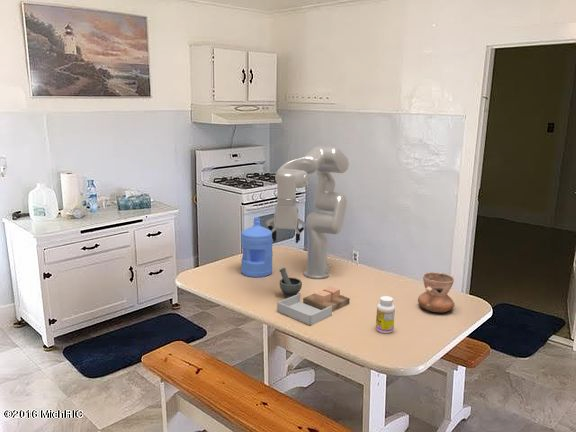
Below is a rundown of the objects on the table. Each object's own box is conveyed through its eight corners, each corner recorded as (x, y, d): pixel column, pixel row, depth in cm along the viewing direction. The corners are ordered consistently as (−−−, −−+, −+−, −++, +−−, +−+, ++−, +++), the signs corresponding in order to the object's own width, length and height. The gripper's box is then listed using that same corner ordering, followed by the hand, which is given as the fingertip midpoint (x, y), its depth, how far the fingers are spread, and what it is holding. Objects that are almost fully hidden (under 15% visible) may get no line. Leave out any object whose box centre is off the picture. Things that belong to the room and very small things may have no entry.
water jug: (254, 265, 255) (254, 212, 248) (278, 271, 246) (279, 217, 239) (234, 273, 243) (234, 218, 236) (259, 280, 234) (259, 223, 227)
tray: (298, 302, 209) (299, 293, 208) (331, 315, 197) (332, 306, 196) (277, 311, 199) (277, 302, 198) (310, 325, 187) (310, 316, 186)
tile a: (330, 292, 213) (330, 286, 212) (339, 296, 210) (340, 289, 209) (323, 295, 210) (323, 289, 209) (332, 299, 206) (332, 292, 206)
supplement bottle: (373, 326, 188) (375, 294, 185) (390, 325, 188) (392, 294, 185) (378, 334, 181) (380, 302, 178) (395, 333, 182) (398, 301, 179)
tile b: (321, 296, 209) (322, 290, 208) (331, 299, 206) (331, 293, 205) (314, 299, 205) (314, 293, 205) (323, 303, 202) (323, 296, 201)
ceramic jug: (441, 319, 194) (445, 286, 191) (409, 308, 204) (412, 276, 201) (461, 307, 207) (465, 276, 204) (430, 297, 217) (433, 267, 213)
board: (324, 294, 217) (324, 289, 217) (349, 303, 208) (349, 298, 207) (303, 303, 208) (303, 298, 207) (328, 313, 198) (328, 307, 198)
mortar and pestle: (305, 296, 215) (306, 270, 213) (291, 302, 209) (292, 275, 206) (287, 289, 223) (287, 264, 220) (272, 295, 216) (273, 269, 213)
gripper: (308, 201, 205) (307, 240, 209) (268, 199, 208) (268, 237, 212) (305, 205, 197) (304, 245, 202) (263, 202, 201) (264, 242, 205)
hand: (285, 241), depth 207 cm, fingers open, 9 cm apart
